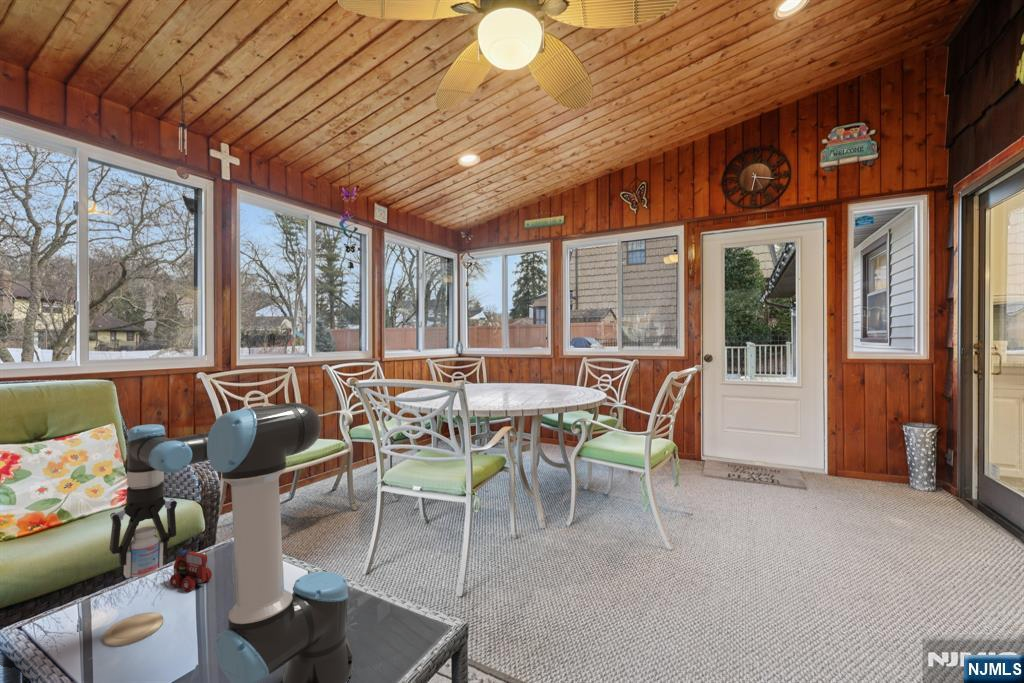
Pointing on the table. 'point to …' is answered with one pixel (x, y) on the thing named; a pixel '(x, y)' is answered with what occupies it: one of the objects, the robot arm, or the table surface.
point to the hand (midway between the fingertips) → (143, 570)
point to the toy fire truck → (190, 570)
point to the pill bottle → (144, 552)
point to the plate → (133, 629)
